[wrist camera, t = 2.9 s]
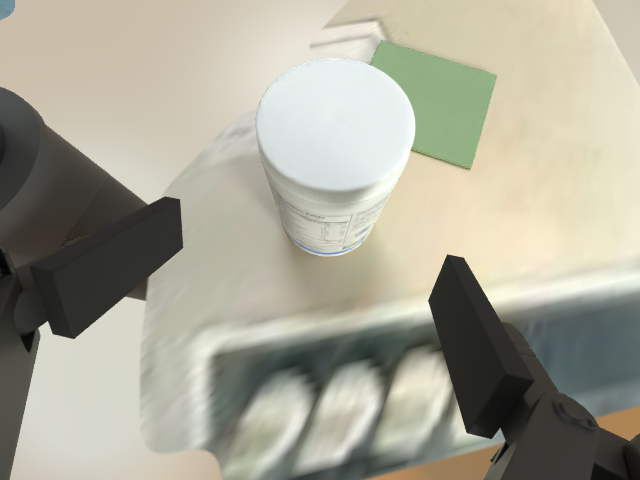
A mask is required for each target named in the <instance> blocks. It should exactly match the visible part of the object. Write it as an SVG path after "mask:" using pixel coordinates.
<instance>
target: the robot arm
mask: <svg viewBox="0 0 640 480" xmlns="http://www.w3.org/2000/svg"><path fill="white" fill-rule="evenodd" d="M14 7H15V0H0V20H1V19H4V18H6V17H8V16H9V15H10V14H11V13H12V12H13V11H14ZM4 152H5V135H4V131H3V129H2V127H1V125H0V164H1V162H2V159H3V156H4ZM182 248H183V238H182V223H181V208H180V199H175V198H170V197H163V198H161V199H159V200H157V201H155V202H153V203H151V204H149V205H147V206H145V207H144V208H142V209H140V210H138V211H136V212H134V213H132V214H130V215H128V216H126V217H124V218H122V219H120V220H118V221H116V222H114V223H112V224H110V225H108V226H106V227H104V228H102V229H100V230H98V231H96V232H94V233H92V234H90V235H87V236H83V237H80V238H76V239H74V240H72V241H70V242H68V243H66V244H64V245H63V247H62V246H60V247H58V248H56V249H54V250H53V251H52V252H48V253H46V254H44V255H42V256H40V257H38V258H36V259H34V260H32V261H30V262H28V263H26V264H24V265H22V266H20V267H18V268H16V269H15V266H14V263H13V261H12V258H11V255H10V253H9V250H8V248H6V247H5V246H2V245H0V480H9V479H10V474H11V469H12V465H13V460H14V456H15V451H16V446H17V442H18V437H19V433H20V428H21V424H22V419H23V414H24V410H25V405H26V400H27V396H28V391H29V387H30V382H31V377H32V373H33V368H34V364H35V359H36V354H37V350H38V345H39V340H40V332H39V329H38V327H40V326H41V325H43V324H44V323H46V322H47V321H48V322H49V325H50V327H51V330H52V333H53V334H55V335H60V336H63V337H68V338H71V339H75V338H76V337H77V336H78V335H79V334H81V333H82V332H83V331H84V330H85V329H86V328H88V327H89V326H90V325H91V324H93V323H94V322H95V321H96V320H97V319H98V318H100V317H101V316H102V315H103V314H105V313H106V312H107V311H108V310H109V309H110V308H112V307H113V306H114V305H115V304H117V303H118V302H119V301H120V300H121V299H123V298H124V297H125V296H126V295H127V294H129V293H130V292H131V291H132V290H133V289H134V288H136V287H137V286H138V285H139V284H140V283H142V282H143V281H144V280H145V279H146V278H148V277H149V276H150V275H151V274H152V273H154V272H155V271H156V270H157V269H158V268H160V267H161V266H162V265H163V264H164V263H166V262H167V261H168V260H169V259H170V258H172V257H173V256H174V255H175V254H176V253H178V252H179V251H180V250H181V249H182ZM428 302H429V305H430V308H431V312H432V315H433V319H434V322H435V326H436V329H437V333H438V336H439V339H440V343H441V346H442V350H443V353H444V357H445V360H446V364H447V367H448V370H449V374H450V377H451V381H452V384H453V388H454V391H455V394H456V398H457V401H458V405H459V408H460V412H461V415H462V419H463V422H464V425H465V429H466V432H467V433H468V434H473V435H477V436H481V437H485V438H489V439H492V438H493V437H494V435H495V434H496V433H497V431H498V430H499V428H500V427H501V430H502V433H503V435H504V438H505V440H506V441H505V443H504V444H503V445H502V446H501V448H500V449H499V450H498V451H497V453H496V454H495V455H494V457H493V458H492V459H491V462H492V465H491V466H490V468H489V470H488V472H487V474H486V476H485V478H484V479H483V480H640V434H638V435H636V436H635V437H634V438H633V439H632V440H631V441H628V440H626V439H624V438H621V437H620V436H618V435H615V434H613V433H611V432H609V431H607V430H605V429H603V428H600V427H599V426H598V424H597V422H596V420H595V419H594V417H593V416H592V415H591V414H590V413H589V412H588V411H587V410H586V409H585V408H584V407H583V406H582V405H580V404H579V403H578V402H576V401H575V400H574V399H572V398H570V397H568V396H566V395H564V394H562V393H559V391H558V390H557V388H556V387H555V385H554V384H553V382H552V381H551V379H550V377H549V376H548V374H547V373H546V371H545V370H544V368H543V366H542V365H541V363H540V362H539V360H538V359H536V355H535V354H534V352H533V351H532V349H530V346H529V345H528V343H527V341H526V340H525V338H524V337H523V335H522V334H521V333H520V332H519V331H518V330H517V329H515V328H514V327H513V326H512V325H511V324H509V323H504V322H501V321H500V319H499V317H498V316H497V314H496V312H495V311H494V309H493V307H492V305H491V304H490V302H489V300H488V299H487V297H486V295H485V293H484V292H483V290H482V288H481V287H480V285H479V283H478V281H477V280H476V278H475V276H474V275H473V273H472V271H471V269H470V268H469V266H468V264H467V263H466V261H465V259H464V258H462V257H457V256H452V255H448V254H447V256H446V259H445V261H444V264H443V266H442V268H441V271H440V273H439V276H438V278H437V281H436V283H435V285H434V288H433V290H432V293H431V295H430V298H429V300H428Z"/></svg>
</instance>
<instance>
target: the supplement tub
mask: <svg viewBox="0 0 640 480" xmlns="http://www.w3.org/2000/svg"><path fill="white" fill-rule="evenodd" d="M256 134H257V139H258V148H259V153H260V156H261V160H262V163H263V166H264V169H265V172H266V175H267V178H268V181H269V184H270V187H271V190H272V193H273V196H274V199H275V202H276V205H277V208H278V211H279V214H280V217H281V220H282V223H283V226H284V228H285V230H286V232H287V234H288V236H289V237H290V239H291V240H292V241H293V242H294V243H295V244H296V245H297V246H299V247H300V248H301V249H303V250H305V251H306V252H308V253H311V254H314V255H318V256H327V257H329V256H338V255H342V254H345V253H348V252H350V251H352V250H354V249H355V248H357V247H358V246H359V245H360V244H361V243H362V242H363V241H364V240H365V239H366V238H367V236H368V235H369V233H370V231H371V229H372V227H373V226H374V224H375V222H376V220H377V218H378V216H379V215H380V213H381V211H382V209H383V207H384V205H385V203H386V202H387V200H388V198H389V196H390V194H391V192H392V190H393V188H394V187H395V185H396V183H397V181H398V179H399V177H400V175H401V173H402V172H403V170H404V167H405V165H406V163H407V160H408V157H409V154H410V150H411V147H412V145H413V142H414V136H415V117H414V112H413V109H412V106H411V103H410V101H409V99H408V97H407V96H406V94H405V93H404V91H403V90H402V88H401V87H400V86H399V85H398V84H397V83H396V82H395V81H394V80H393V79H392V78H391V77H389V76H388V75H387V74H386V73H384V72H382V71H381V70H379V69H377V68H375V67H373V66H371V65H368V64H366V63H363V62H360V61H356V60H352V59H346V58H324V59H317V60H312V61H308V62H306V63H302V64H300V65H297V66H295V67H293V68H291V69H289V70H288V71H286V72H285V73H283V74H282V75H281V76H279V77H278V78H277V79H276V80H275V81H274V82H273V83H272V84H271V85H270V87H269V88H268V89H267V90H266V92H265V93H264V95H263V97H262V99H261V101H260V104H259V106H258V110H257V114H256Z"/></svg>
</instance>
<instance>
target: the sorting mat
mask: <svg viewBox="0 0 640 480" xmlns="http://www.w3.org/2000/svg"><path fill="white" fill-rule="evenodd" d="M370 65H371V66H373V67H375V68H377V69H379V70H381V71H382V72H384V73H386V74H387V75H388V76H389V77H391V78H392V79H393V80H394V81H395V82H396V83H397V84H398V85H399V86H400V87H401V88H402V90H403V91H404V93H405V94H406V96H407V97H408V99H409V101H410V103H411V106H412V109H413V112H414V117H415V136H414V142H413V145H412V147H411V150H414V151H417V152H420V153H423V154H426V155H429V156H432V157H435V158H438V159H441V160H444V161H447V162H449V163H452V164H455V165H458V166H461V167H464V168H467V169H470V168H471V167H472V163H473V160H474V156H475V152H476V149H477V145H478V142H479V138H480V135H481V131H482V127H483V124H484V120H485V117H486V113H487V110H488V106H489V102H490V99H491V95H492V92H493V88H494V85H495V81H496V77H497V75H495V74H492V73H488V72H485V71H482V70H478V69H475V68H472V67H468V66H465V65H462V64H458V63H455V62H452V61H449V60H445V59H442V58H439V57H435V56H432V55H429V54H425V53H422V52H419V51H415V50H412V49H409V48H405V47H402V46H399V45H395V44H392V43H389V42H386V41H382V40H381V42H380V44H379V46H378V48H377V50H376V53H375V55H374V57H373V59H372V61H371V63H370Z"/></svg>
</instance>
